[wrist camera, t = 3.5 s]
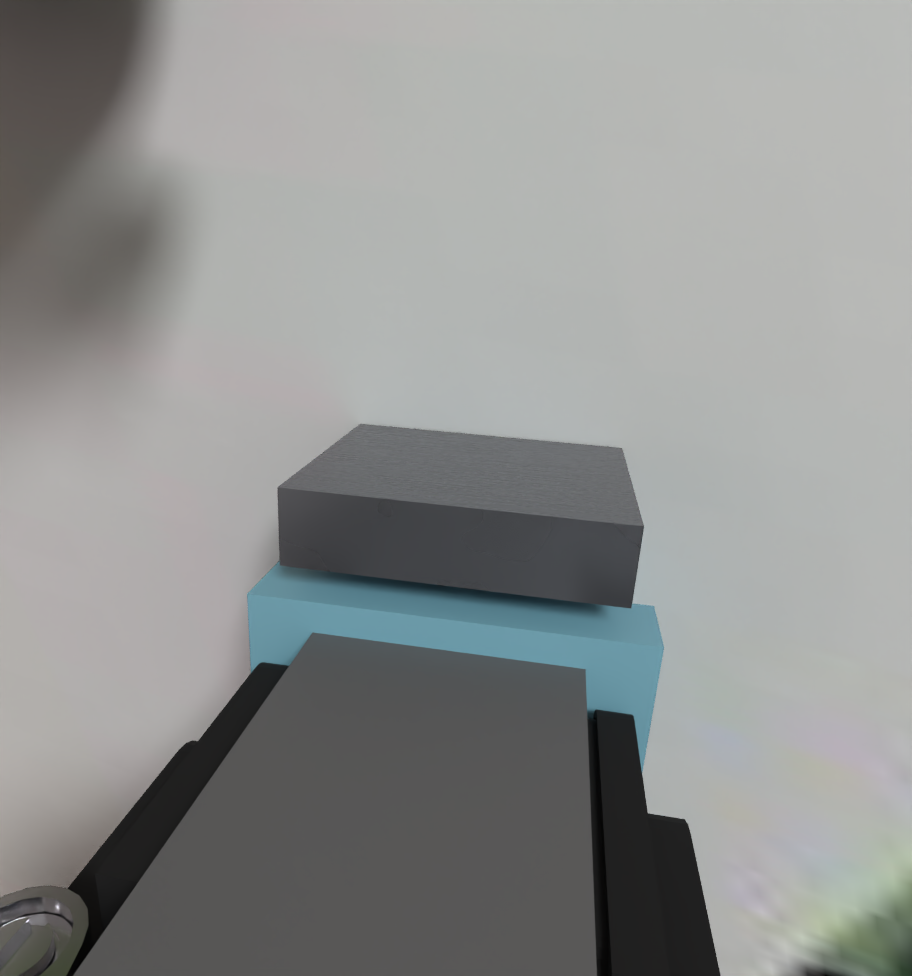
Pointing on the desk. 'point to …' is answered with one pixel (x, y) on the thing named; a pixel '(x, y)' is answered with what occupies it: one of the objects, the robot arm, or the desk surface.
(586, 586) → the rail
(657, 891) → the robot arm
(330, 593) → the carriage
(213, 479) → the desk surface
